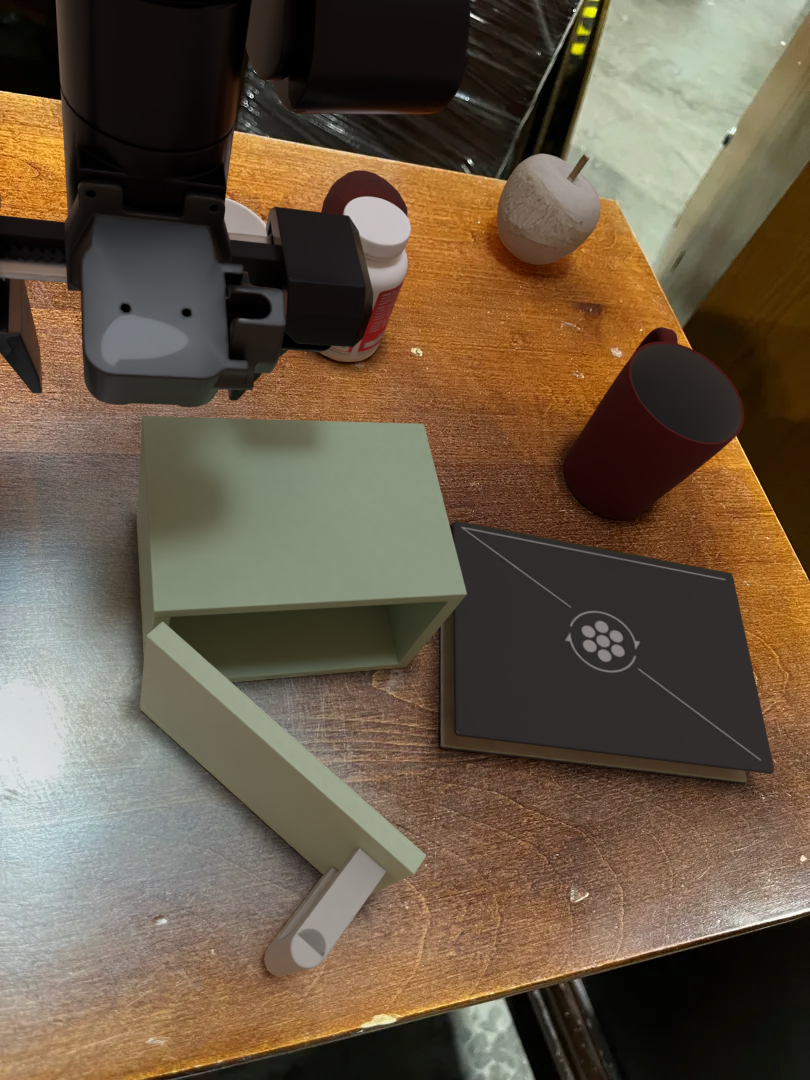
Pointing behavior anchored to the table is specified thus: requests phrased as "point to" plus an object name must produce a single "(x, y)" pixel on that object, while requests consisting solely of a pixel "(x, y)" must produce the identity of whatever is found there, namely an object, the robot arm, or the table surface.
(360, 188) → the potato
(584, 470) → the mug
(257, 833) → the table surface
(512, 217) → the decorative object
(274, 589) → the cupboard
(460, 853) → the table surface
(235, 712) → the door
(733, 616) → the book
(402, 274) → the pill bottle
